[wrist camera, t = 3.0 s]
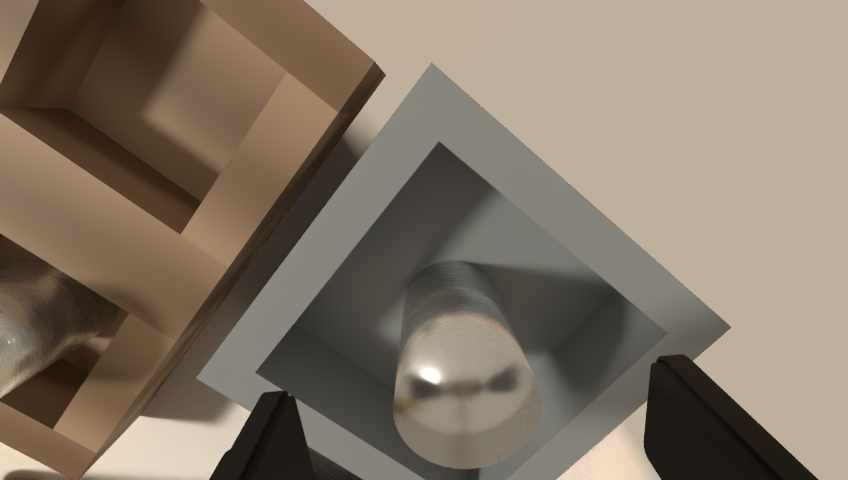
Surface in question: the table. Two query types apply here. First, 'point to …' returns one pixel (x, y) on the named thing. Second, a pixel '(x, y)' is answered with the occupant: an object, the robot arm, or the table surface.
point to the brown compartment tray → (153, 178)
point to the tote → (482, 247)
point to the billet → (462, 371)
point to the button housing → (329, 468)
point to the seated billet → (44, 318)
